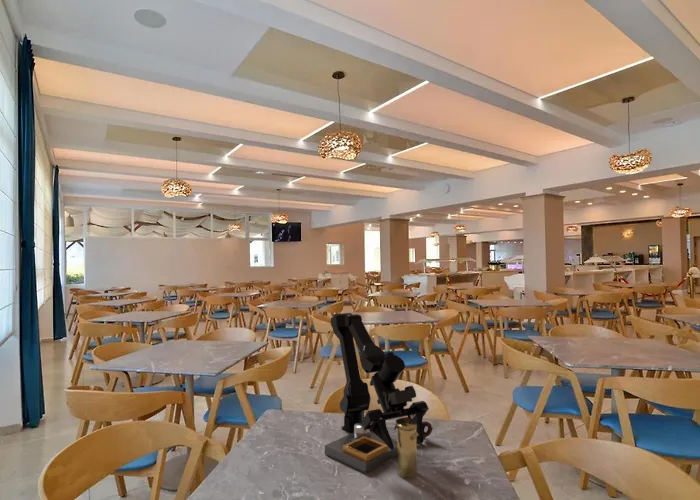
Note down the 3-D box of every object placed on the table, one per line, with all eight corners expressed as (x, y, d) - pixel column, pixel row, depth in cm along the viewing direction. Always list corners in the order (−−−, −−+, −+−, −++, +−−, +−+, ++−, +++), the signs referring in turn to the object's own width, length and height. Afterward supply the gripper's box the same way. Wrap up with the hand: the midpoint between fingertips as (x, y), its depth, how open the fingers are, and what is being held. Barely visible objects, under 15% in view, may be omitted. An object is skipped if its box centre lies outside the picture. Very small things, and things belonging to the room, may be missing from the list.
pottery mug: (394, 447, 124) (390, 418, 128) (401, 449, 131) (396, 422, 136) (433, 441, 121) (427, 412, 125) (438, 443, 129) (432, 416, 133)
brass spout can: (393, 471, 109) (393, 422, 109) (410, 467, 111) (409, 418, 111) (409, 485, 102) (408, 433, 102) (426, 480, 104) (426, 429, 104)
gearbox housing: (361, 436, 130) (361, 419, 130) (402, 452, 119) (401, 433, 119) (324, 454, 119) (324, 434, 119) (365, 473, 108) (365, 452, 108)
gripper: (366, 380, 109) (387, 438, 98) (424, 372, 117) (450, 425, 106) (353, 401, 116) (372, 457, 105) (409, 392, 123) (432, 443, 113)
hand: (407, 445), depth 107 cm, fingers open, 9 cm apart
